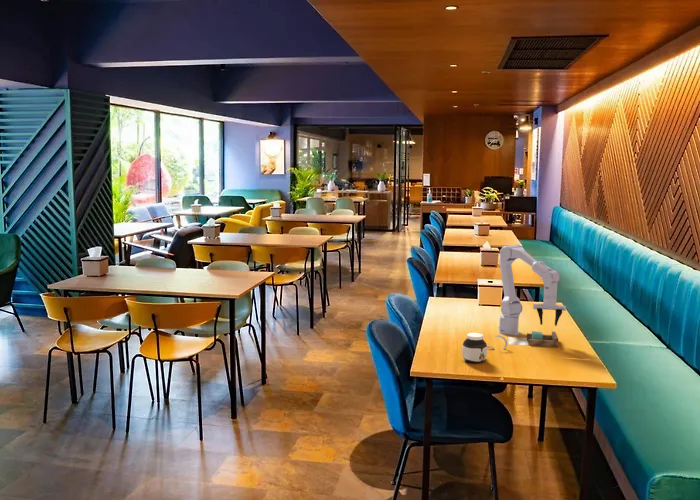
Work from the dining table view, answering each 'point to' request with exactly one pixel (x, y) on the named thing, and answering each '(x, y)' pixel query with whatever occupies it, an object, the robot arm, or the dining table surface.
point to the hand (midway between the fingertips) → (548, 324)
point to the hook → (502, 338)
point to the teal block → (537, 335)
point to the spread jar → (474, 348)
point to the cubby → (535, 340)
